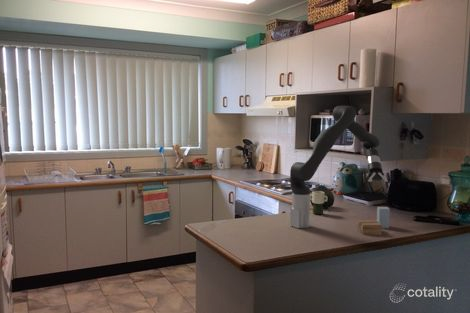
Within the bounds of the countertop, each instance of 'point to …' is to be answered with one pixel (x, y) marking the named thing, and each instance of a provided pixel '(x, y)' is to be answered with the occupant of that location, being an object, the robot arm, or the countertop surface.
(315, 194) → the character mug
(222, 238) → the countertop surface
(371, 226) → the layered tan block
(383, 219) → the grey pillar block
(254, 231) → the countertop surface
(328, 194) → the squash
